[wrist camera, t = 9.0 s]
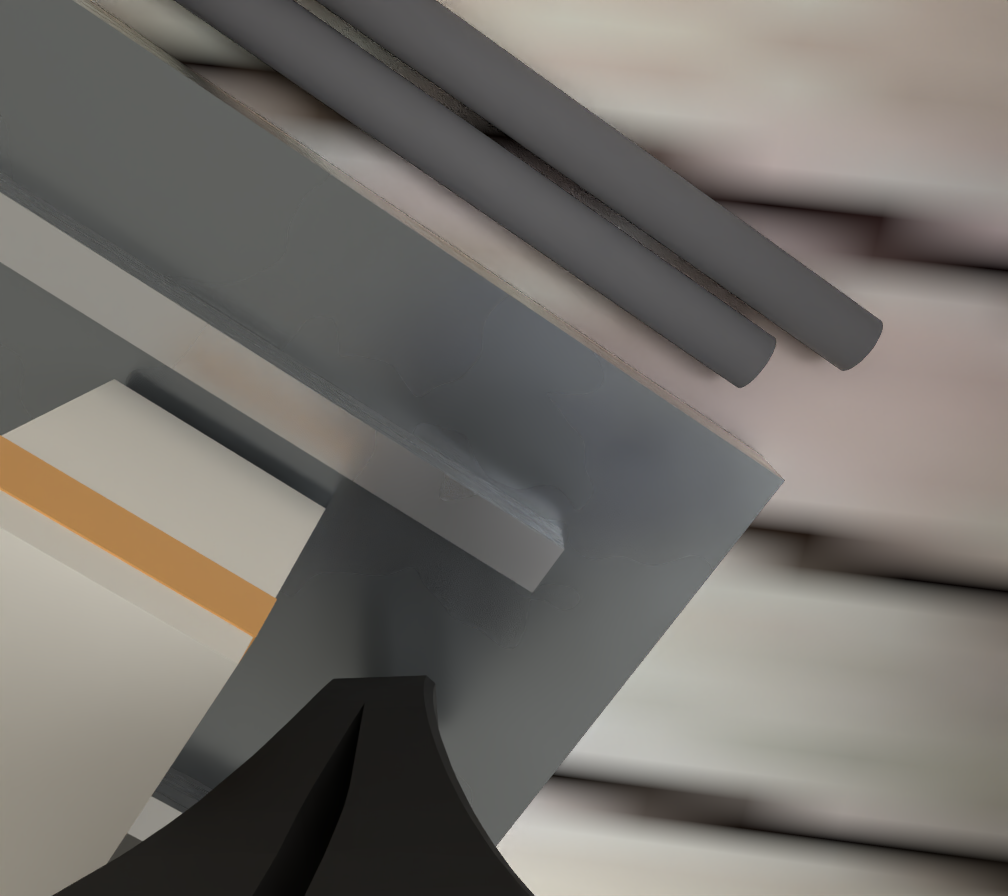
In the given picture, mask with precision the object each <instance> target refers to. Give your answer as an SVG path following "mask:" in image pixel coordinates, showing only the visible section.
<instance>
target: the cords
mask: <svg viewBox="0 0 1008 896" xmlns="http://www.w3.org/2000/svg"><path fill="white" fill-rule="evenodd" d="M174 1H176V2H177V3H179V4H180V5H181V6H183V7H184V8H186V9H187V10H189V11H190V12H192V13H193V14H195V15H196V16H197V17H199V18H200V19H202V20H203V21H205V22H206V23H208V24H209V25H211V26H212V27H214V28H215V29H216V30H218V31H219V32H221V33H222V34H224V35H225V36H227V37H228V38H230V39H231V40H232V41H234V42H235V43H237V44H238V45H240V46H241V47H243V48H244V49H246V50H247V51H248V52H250V53H251V54H253V55H254V56H256V57H257V58H259V59H260V60H262V61H263V62H264V63H266V64H267V65H269V66H270V67H272V68H273V69H275V70H276V71H278V72H279V73H281V74H282V75H283V76H285V77H286V78H288V79H289V80H291V81H292V82H294V83H295V84H297V85H298V86H299V87H301V88H302V89H304V90H305V91H307V92H308V93H310V94H311V95H313V96H314V97H315V98H317V99H318V100H320V101H321V102H323V103H324V104H326V105H327V106H329V107H330V108H331V109H333V110H334V111H336V112H337V113H339V114H340V115H342V116H343V117H345V118H346V119H347V120H349V121H350V122H352V123H353V124H355V125H356V126H358V127H359V128H361V129H362V130H364V131H365V132H366V133H368V134H369V135H371V136H372V137H374V138H375V139H377V140H378V141H380V142H381V143H382V144H384V145H385V146H387V147H388V148H390V149H391V150H393V151H394V152H396V153H397V154H398V155H400V156H401V157H403V158H404V159H406V160H407V161H409V162H410V163H412V164H413V165H414V166H416V167H417V168H419V169H420V170H422V171H423V172H425V173H426V174H428V175H429V176H430V177H432V178H433V179H435V180H436V181H438V182H439V183H441V184H442V185H444V186H445V187H447V188H448V189H449V190H451V191H452V192H454V193H455V194H457V195H458V196H460V197H461V198H463V199H464V200H465V201H467V202H468V203H470V204H471V205H473V206H474V207H476V208H477V209H479V210H480V211H481V212H483V213H484V214H486V215H487V216H489V217H490V218H492V219H493V220H495V221H496V222H497V223H499V224H500V225H502V226H503V227H505V228H506V229H508V230H509V231H511V232H512V233H514V234H515V235H516V236H518V237H519V238H521V239H522V240H524V241H525V242H527V243H528V244H530V245H531V246H532V247H534V248H535V249H537V250H538V251H540V252H541V253H543V254H544V255H546V256H547V257H548V258H550V259H551V260H553V261H554V262H556V263H557V264H559V265H560V266H562V267H563V268H564V269H566V270H567V271H569V272H570V273H572V274H573V275H575V276H576V277H578V278H579V279H580V280H582V281H583V282H585V283H586V284H588V285H589V286H591V287H592V288H594V289H595V290H597V291H598V292H599V293H601V294H602V295H604V296H605V297H607V298H608V299H610V300H611V301H613V302H614V303H615V304H617V305H618V306H620V307H621V308H623V309H624V310H626V311H627V312H629V313H630V314H631V315H633V316H634V317H636V318H637V319H639V320H640V321H642V322H643V323H645V324H646V325H647V326H649V327H650V328H652V329H653V330H655V331H656V332H658V333H659V334H661V335H662V336H663V337H665V338H666V339H668V340H669V341H671V342H672V343H674V344H675V345H677V346H678V347H680V348H681V349H682V350H684V351H685V352H687V353H688V354H690V355H691V356H693V357H694V358H696V359H697V360H698V361H700V362H701V363H703V364H704V365H706V366H707V367H709V368H710V369H712V370H713V371H714V372H716V373H717V374H719V375H720V376H722V377H723V378H725V379H726V380H728V381H729V382H730V383H732V384H733V385H735V386H736V387H738V388H741V387H744V386H746V385H747V384H749V383H750V382H751V381H752V380H753V379H754V378H755V377H756V376H757V375H758V374H759V373H760V372H761V371H762V369H763V368H764V367H765V365H766V364H767V362H768V361H769V359H770V357H771V355H772V353H773V351H774V349H775V345H776V339H775V338H774V337H773V336H771V335H770V334H768V333H767V332H766V331H764V330H763V329H761V328H760V327H758V326H757V325H756V324H754V323H753V322H751V321H750V320H749V319H747V318H746V317H744V316H743V315H741V314H740V313H739V312H737V311H736V310H734V309H733V308H731V307H730V306H729V305H727V304H726V303H724V302H723V301H721V300H720V299H719V298H717V297H716V296H714V295H713V294H711V293H710V292H709V291H707V290H706V289H704V288H703V287H701V286H700V285H699V284H697V283H696V282H694V281H693V280H691V279H690V278H689V277H687V276H686V275H684V274H683V273H681V272H680V271H679V270H677V269H676V268H674V267H673V266H672V265H670V264H669V263H667V262H666V261H664V260H663V259H662V258H660V257H659V256H657V255H656V254H654V253H653V252H652V251H650V250H649V249H647V248H646V247H644V246H643V245H642V244H640V243H639V242H637V241H636V240H634V239H633V238H632V237H630V236H629V235H627V234H626V233H624V232H623V231H622V230H620V229H619V228H617V227H616V226H614V225H613V224H612V223H610V222H609V221H607V220H606V219H605V218H603V217H602V216H600V215H599V214H597V213H596V212H595V211H593V210H592V209H590V208H589V207H587V206H586V205H585V204H583V203H582V202H580V201H579V200H577V199H576V198H575V197H573V196H572V195H570V194H569V193H567V192H566V191H565V190H563V189H562V188H560V187H559V186H557V185H556V184H555V183H553V182H552V181H550V180H549V179H547V178H546V177H545V176H543V175H542V174H540V173H539V172H538V171H536V170H535V169H533V168H532V167H530V166H529V165H528V164H526V163H525V162H523V161H522V160H520V159H519V158H518V157H516V156H515V155H513V154H512V153H510V152H509V151H508V150H506V149H505V148H503V147H502V146H500V145H499V144H498V143H496V142H495V141H493V140H492V139H490V138H489V137H488V136H486V135H485V134H483V133H482V132H480V131H479V130H478V129H476V128H475V127H473V126H472V125H471V124H469V123H468V122H466V121H465V120H463V119H462V118H461V117H459V116H458V115H456V114H455V113H453V112H452V111H451V110H449V109H448V108H446V107H445V106H443V105H442V104H441V103H439V102H438V101H436V100H435V99H433V98H432V97H431V96H429V95H428V94H426V93H425V92H423V91H422V90H421V89H419V88H418V87H416V86H415V85H413V84H412V83H411V82H409V81H408V80H406V79H405V78H403V77H402V76H401V75H399V74H398V73H396V72H395V71H394V70H392V69H391V68H389V67H388V66H386V65H385V64H384V63H382V62H381V61H379V60H378V59H376V58H375V57H374V56H372V55H371V54H369V53H368V52H366V51H365V50H364V49H362V48H361V47H359V46H358V45H356V44H355V43H354V42H352V41H351V40H349V39H348V38H346V37H345V36H344V35H342V34H341V33H339V32H338V31H336V30H335V29H334V28H332V27H331V26H329V25H328V24H327V23H325V22H324V21H322V20H321V19H319V18H318V17H317V16H315V15H314V14H312V13H311V12H309V11H308V10H307V9H305V8H304V7H302V6H301V5H299V4H298V3H297V2H295V1H294V0H174ZM316 1H318V2H319V3H320V4H322V5H323V6H325V7H326V8H328V9H329V10H330V11H332V12H333V13H335V14H336V15H337V16H339V17H340V18H342V19H343V20H345V21H346V22H347V23H349V24H350V25H352V26H353V27H354V28H356V29H357V30H359V31H360V32H362V33H363V34H364V35H366V36H367V37H369V38H370V39H372V40H373V41H374V42H376V43H377V44H379V45H380V46H381V47H383V48H384V49H386V50H387V51H389V52H390V53H391V54H393V55H394V56H396V57H397V58H399V59H400V60H401V61H403V62H404V63H406V64H407V65H408V66H410V67H411V68H413V69H414V70H416V71H417V72H418V73H420V74H421V75H423V76H424V77H425V78H427V79H428V80H430V81H431V82H433V83H434V84H435V85H437V86H438V87H440V88H441V89H443V90H444V91H445V92H447V93H448V94H450V95H451V96H452V97H454V98H455V99H457V100H458V101H460V102H461V103H462V104H464V105H465V106H467V107H468V108H470V109H471V110H472V111H474V112H475V113H477V114H478V115H479V116H481V117H482V118H484V119H485V120H487V121H488V122H489V123H491V124H492V125H494V126H495V127H496V128H498V129H499V130H501V131H502V132H504V133H505V134H506V135H508V136H509V137H511V138H512V139H514V140H515V141H516V142H518V143H519V144H521V145H522V146H523V147H525V148H526V149H528V150H529V151H531V152H532V153H533V154H535V155H536V156H538V157H539V158H540V159H542V160H543V161H545V162H546V163H548V164H549V165H550V166H552V167H553V168H555V169H556V170H558V171H559V172H560V173H562V174H563V175H565V176H566V177H567V178H569V179H570V180H572V181H573V182H575V183H576V184H577V185H579V186H580V187H582V188H583V189H585V190H586V191H587V192H589V193H590V194H592V195H593V196H594V197H596V198H597V199H599V200H600V201H602V202H603V203H604V204H606V205H607V206H609V207H610V208H611V209H613V210H614V211H616V212H617V213H619V214H620V215H621V216H623V217H624V218H626V219H627V220H629V221H630V222H631V223H633V224H634V225H636V226H637V227H638V228H640V229H641V230H643V231H644V232H646V233H647V234H648V235H650V236H651V237H653V238H654V239H656V240H657V241H658V242H660V243H661V244H663V245H664V246H665V247H667V248H668V249H670V250H671V251H673V252H674V253H675V254H677V255H678V256H680V257H681V258H682V259H684V260H685V261H687V262H688V263H690V264H691V265H692V266H694V267H695V268H697V269H698V270H700V271H701V272H702V273H704V274H705V275H707V276H708V277H709V278H711V279H712V280H714V281H715V282H717V283H718V284H719V285H721V286H722V287H724V288H725V289H727V290H728V291H729V292H731V293H732V294H734V295H735V296H736V297H738V298H739V299H741V300H742V301H744V302H745V303H746V304H748V305H749V306H751V307H752V308H753V309H755V310H756V311H758V312H759V313H761V314H762V315H763V316H765V317H766V318H768V319H769V320H771V321H772V322H773V323H775V324H776V325H778V326H779V327H780V328H782V329H783V330H785V331H786V332H788V333H789V334H790V335H792V336H793V337H795V338H796V339H797V340H799V341H800V342H802V343H803V344H805V345H806V346H807V347H809V348H810V349H812V350H813V351H815V352H816V353H817V354H819V355H820V356H822V357H823V358H824V359H826V360H827V361H829V362H830V363H832V364H833V365H834V366H836V367H837V368H839V369H840V370H843V371H845V370H849V369H851V368H853V367H854V366H856V365H857V364H858V363H860V362H861V361H862V360H863V359H864V358H865V357H866V356H867V355H868V354H869V352H870V351H871V350H872V349H873V347H874V346H875V344H876V343H877V341H878V339H879V337H880V335H881V332H882V329H883V323H882V321H881V320H879V319H878V318H877V317H875V316H874V315H872V314H871V313H870V312H868V311H867V310H865V309H864V308H863V307H861V306H860V305H858V304H857V303H856V302H854V301H853V300H852V299H850V298H849V297H847V296H846V295H845V294H843V293H842V292H840V291H839V290H838V289H836V288H835V287H833V286H832V285H831V284H829V283H828V282H827V281H825V280H824V279H822V278H821V277H820V276H818V275H817V274H815V273H814V272H813V271H811V270H810V269H808V268H807V267H806V266H804V265H803V264H802V263H800V262H799V261H797V260H796V259H795V258H793V257H792V256H790V255H789V254H788V253H786V252H785V251H783V250H782V249H781V248H779V247H778V246H777V245H775V244H774V243H772V242H771V241H770V240H768V239H767V238H765V237H764V236H763V235H761V234H760V233H758V232H757V231H756V230H754V229H753V228H751V227H750V226H749V225H747V224H746V223H745V222H743V221H742V220H740V219H739V218H738V217H736V216H735V215H733V214H732V213H731V212H729V211H728V210H726V209H725V208H724V207H722V206H721V205H720V204H718V203H717V202H715V201H714V200H713V199H711V198H710V197H708V196H707V195H706V194H704V193H703V192H701V191H700V190H699V189H697V188H696V187H695V186H693V185H692V184H690V183H689V182H688V181H686V180H685V179H683V178H682V177H681V176H679V175H678V174H676V173H675V172H674V171H672V170H671V169H670V168H668V167H667V166H665V165H664V164H663V163H661V162H660V161H658V160H657V159H656V158H654V157H653V156H651V155H650V154H649V153H647V152H646V151H645V150H643V149H642V148H640V147H639V146H638V145H636V144H635V143H633V142H632V141H631V140H629V139H628V138H626V137H625V136H624V135H622V134H621V133H620V132H618V131H617V130H615V129H614V128H613V127H611V126H610V125H608V124H607V123H606V122H604V121H603V120H601V119H600V118H599V117H597V116H596V115H595V114H593V113H592V112H590V111H589V110H588V109H586V108H585V107H583V106H582V105H581V104H579V103H578V102H576V101H575V100H574V99H572V98H571V97H570V96H568V95H567V94H565V93H564V92H563V91H561V90H560V89H558V88H557V87H556V86H554V85H553V84H551V83H550V82H549V81H547V80H546V79H545V78H543V77H542V76H540V75H539V74H538V73H536V72H535V71H533V70H532V69H531V68H529V67H528V66H526V65H525V64H524V63H522V62H521V61H520V60H518V59H517V58H515V57H514V56H513V55H511V54H510V53H508V52H507V51H506V50H504V49H503V48H501V47H500V46H499V45H497V44H496V43H495V42H493V41H492V40H490V39H489V38H488V37H486V36H485V35H483V34H482V33H481V32H479V31H478V30H476V29H475V28H474V27H472V26H471V25H470V24H468V23H467V22H465V21H464V20H463V19H461V18H460V17H458V16H457V15H456V14H454V13H453V12H451V11H450V10H449V9H447V8H446V7H444V6H443V5H442V4H440V3H439V2H438V1H436V0H316Z"/></svg>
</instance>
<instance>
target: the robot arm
mask: <svg viewBox="0 0 1008 896" xmlns="http://www.w3.org/2000/svg"><path fill="white" fill-rule="evenodd" d="M52 896H534V894H533V893H532V892H531V891H530V890H529V889H528V888H527V886H526V885H525V884H524V883H523V882H522V881H521V880H520V878H519V877H518V876H517V875H516V874H515V873H514V871H513V870H512V869H511V867H510V866H509V865H508V863H507V862H506V860H505V859H504V858H503V856H502V855H501V854H500V852H499V851H498V849H497V848H496V847H495V845H494V844H493V842H492V841H491V839H490V837H489V836H488V834H487V833H486V831H485V830H484V828H483V827H482V825H481V823H480V822H479V820H478V818H477V816H476V815H475V813H474V811H473V809H472V807H471V806H470V804H469V802H468V800H467V798H466V796H465V794H464V792H463V790H462V788H461V786H460V784H459V782H458V780H457V777H456V775H455V773H454V770H453V768H452V766H451V763H450V760H449V758H448V755H447V752H446V750H445V747H444V744H443V741H442V739H441V735H440V732H439V727H438V712H437V698H436V684H435V683H434V682H433V681H432V680H431V679H430V678H429V677H428V676H427V675H421V676H393V677H365V678H337V679H332V680H331V681H330V682H329V683H328V684H327V685H325V686H324V687H323V688H322V689H321V690H320V691H319V692H318V693H317V694H316V695H315V696H314V697H313V698H312V699H311V700H310V701H309V702H308V703H307V704H306V705H305V706H304V707H303V708H302V709H301V710H300V711H299V712H298V713H297V714H296V715H295V716H294V717H293V718H292V719H291V720H290V721H289V722H288V723H287V724H286V725H285V726H284V727H283V728H281V729H280V730H279V731H278V732H277V733H276V734H275V735H274V736H273V737H272V738H271V739H270V740H269V741H268V742H267V743H266V744H264V745H263V746H262V747H261V748H260V749H259V750H258V751H257V752H256V753H255V754H254V755H253V756H252V757H250V758H249V759H248V760H247V761H246V762H245V763H243V764H242V765H241V766H240V767H239V768H237V769H236V770H235V771H234V772H233V773H231V774H230V775H229V776H228V777H227V778H226V779H224V780H223V781H222V782H221V783H220V784H218V785H217V786H216V787H215V788H214V789H212V790H211V791H210V792H209V793H208V794H206V795H205V796H204V797H203V798H202V799H201V800H199V801H198V802H197V803H195V804H194V805H193V806H192V807H190V808H189V809H188V810H186V811H185V812H184V813H182V814H181V815H180V816H178V817H177V818H175V819H174V820H173V821H171V822H170V823H169V824H167V825H166V826H164V827H163V828H161V829H160V830H158V831H157V832H155V833H154V834H153V835H151V836H150V837H148V838H147V839H145V840H144V841H142V842H141V843H139V844H138V845H136V846H135V847H133V848H132V849H130V850H129V851H127V852H126V853H124V854H122V855H121V856H119V857H118V858H116V859H114V860H113V861H111V862H109V863H107V864H106V865H104V866H102V867H100V868H99V869H97V870H95V871H94V872H92V873H90V874H88V875H87V876H85V877H83V878H81V879H80V880H78V881H76V882H75V883H73V884H71V885H69V886H68V887H66V888H64V889H62V890H61V891H59V892H57V893H56V894H54V895H52Z"/></svg>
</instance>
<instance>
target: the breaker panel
mask: <svg viewBox="0 0 1008 896" xmlns="http://www.w3.org/2000/svg"><path fill="white" fill-rule="evenodd" d="M113 379H115V380H117V381H118V382H120V383H122V384H123V385H125V386H127V387H128V388H130V389H132V390H133V391H135V392H136V393H138V394H140V395H141V396H143V397H145V398H146V399H148V400H149V401H151V402H153V403H154V404H156V405H158V406H159V407H161V408H162V409H164V410H166V411H167V412H169V413H171V414H172V415H174V416H176V417H177V418H179V419H180V420H182V421H184V422H185V423H187V424H189V425H190V426H192V427H193V428H195V429H197V430H198V431H200V432H202V433H203V434H205V435H206V436H208V437H210V438H211V439H213V440H215V441H216V442H218V443H220V444H221V445H223V446H224V447H226V448H228V449H229V450H231V451H233V452H234V453H236V454H237V455H239V456H241V457H242V458H244V459H246V460H247V461H249V462H250V463H252V464H254V465H255V466H257V467H259V468H260V469H262V470H264V471H265V472H267V473H268V474H270V475H272V476H273V477H275V478H277V479H278V480H280V481H281V482H283V483H285V484H286V485H288V486H290V487H291V488H293V489H294V490H296V491H298V492H299V493H301V494H303V495H304V496H306V497H308V498H309V499H311V500H312V501H314V502H316V503H317V504H319V505H321V506H322V507H324V508H325V511H324V512H323V514H322V516H321V518H320V520H319V521H318V523H317V525H316V527H315V528H314V530H313V532H312V534H311V536H310V537H309V539H308V541H307V543H306V544H305V546H304V548H303V550H302V552H301V553H300V555H299V557H298V559H297V560H296V562H295V564H294V566H293V568H292V569H291V571H290V573H289V575H288V576H287V578H286V580H285V582H284V584H283V585H282V587H281V589H280V591H279V592H278V594H277V596H276V599H277V600H276V602H275V604H274V606H273V608H272V609H271V611H270V613H269V615H268V617H267V618H266V620H265V622H264V624H263V626H262V627H261V629H260V631H259V633H258V634H257V636H256V638H255V639H254V641H253V642H252V644H251V645H250V647H249V648H248V650H247V652H246V653H245V655H244V656H243V658H242V659H241V661H240V662H239V664H238V665H237V667H236V668H235V670H234V671H233V673H232V674H231V676H230V677H229V679H228V680H227V682H226V683H225V685H224V686H223V688H222V689H221V691H220V693H219V694H218V696H217V697H216V699H215V700H214V702H213V703H212V705H211V706H210V708H209V709H208V711H207V712H206V714H205V715H204V717H203V718H202V720H201V721H200V723H199V724H198V726H197V727H196V729H195V730H194V732H193V734H192V735H191V737H190V738H189V740H188V741H187V743H186V744H185V746H184V747H183V749H182V750H181V752H180V753H179V755H178V756H177V758H176V759H175V761H174V762H173V764H172V765H171V767H170V768H169V770H168V772H167V773H166V775H165V776H164V778H163V779H162V781H161V782H160V784H159V785H158V787H157V788H156V790H155V791H154V793H153V794H152V796H151V797H150V799H149V800H148V802H147V803H146V805H145V806H144V808H143V809H142V811H141V813H140V814H139V816H138V817H137V819H136V820H135V822H134V823H133V825H132V826H131V828H130V829H129V831H128V832H127V834H126V835H125V837H124V838H123V840H122V841H121V843H120V844H119V846H118V847H117V849H116V850H115V852H114V854H113V855H112V857H111V858H110V860H109V861H108V863H109V862H111V861H113V860H114V859H116V858H118V857H119V856H121V855H122V854H124V853H126V852H127V851H129V850H130V849H132V848H133V847H135V846H136V845H138V844H139V843H141V842H142V841H144V840H145V839H147V838H148V837H150V836H151V835H153V834H154V833H155V832H157V831H158V830H160V829H161V828H163V827H164V826H166V825H167V824H169V823H170V822H171V821H173V820H174V819H175V818H177V817H178V816H180V815H181V814H182V813H184V812H185V811H186V810H188V809H189V808H190V807H192V806H193V805H194V804H195V803H197V802H198V801H199V800H201V799H202V798H203V797H204V796H205V795H206V794H208V793H209V792H210V791H211V790H212V789H214V788H215V787H216V786H217V785H218V784H220V783H221V782H222V781H223V780H224V779H226V778H227V777H228V776H229V775H230V774H231V773H233V772H234V771H235V770H236V769H237V768H239V767H240V766H241V765H242V764H243V763H245V762H246V761H247V760H248V759H249V758H250V757H252V756H253V755H254V754H255V753H256V752H257V751H258V750H259V749H260V748H261V747H262V746H263V745H264V744H266V743H267V742H268V741H269V740H270V739H271V738H272V737H273V736H274V735H275V734H276V733H277V732H278V731H279V730H280V729H281V728H283V727H284V726H285V725H286V724H287V723H288V722H289V721H290V720H291V719H292V718H293V717H294V716H295V715H296V714H297V713H298V712H299V711H300V710H301V709H302V708H303V707H304V706H305V705H306V704H307V703H308V702H309V701H310V700H311V699H312V698H313V697H314V696H315V695H316V694H317V693H318V692H319V691H320V690H321V689H322V688H323V687H324V686H325V685H327V684H328V683H329V682H330V681H331V680H332V679H337V678H365V677H393V676H421V675H427V676H428V677H429V678H430V679H431V680H432V681H433V682H434V683H435V684H436V698H437V712H438V727H439V732H440V735H441V739H442V741H443V744H444V747H445V750H446V752H447V755H448V758H449V760H450V763H451V766H452V768H453V770H454V773H455V775H456V777H457V780H458V782H459V784H460V786H461V788H462V790H463V792H464V794H465V796H466V798H467V800H468V802H469V804H470V806H471V807H472V809H473V811H474V813H475V815H476V816H477V818H478V820H479V822H480V823H481V825H482V827H483V828H484V830H485V831H486V833H487V834H488V836H489V837H490V839H491V841H492V842H493V844H494V845H495V847H496V846H497V844H498V843H499V842H500V841H501V839H502V838H503V837H504V836H505V834H506V833H507V832H508V831H509V829H510V828H511V827H512V825H513V824H514V823H515V822H516V820H517V819H518V818H519V817H520V815H521V814H522V813H523V812H524V810H525V809H526V808H527V806H528V805H529V804H530V803H531V801H532V800H533V799H534V798H535V796H536V795H537V794H538V793H539V791H540V790H541V789H542V787H543V786H544V785H545V784H546V782H547V781H548V780H549V779H550V777H551V776H552V775H553V774H554V772H555V771H556V770H557V768H558V767H559V766H560V765H561V763H562V762H563V761H564V760H565V758H566V757H567V756H568V755H569V753H570V752H571V751H572V749H573V748H574V747H575V746H576V744H577V743H578V742H579V741H580V739H581V738H582V737H583V736H584V734H585V733H586V732H587V730H588V729H589V728H590V727H591V725H592V724H593V723H594V722H595V720H596V719H597V718H598V716H599V715H600V714H601V713H602V711H603V710H604V709H605V708H606V706H607V705H608V704H609V703H610V701H611V700H612V699H613V697H614V696H615V695H616V694H617V692H618V691H619V690H620V689H621V687H622V686H623V685H624V684H625V682H626V681H627V680H628V678H629V677H630V676H631V675H632V673H633V672H634V671H635V670H636V668H637V667H638V666H639V665H640V663H641V662H642V661H643V659H644V658H645V657H646V656H647V654H648V653H649V652H650V651H651V649H652V648H653V647H654V646H655V644H656V643H657V642H658V640H659V639H660V638H661V637H662V635H663V634H664V633H665V632H666V630H667V629H668V628H669V627H670V625H671V624H672V623H673V621H674V620H675V619H676V618H677V616H678V615H679V614H680V613H681V611H682V610H683V609H684V608H685V606H686V605H687V604H688V602H689V601H690V600H691V599H692V597H693V596H694V595H695V594H696V592H697V591H698V590H699V589H700V587H701V586H702V585H703V583H704V582H705V581H706V580H707V578H708V577H709V576H710V575H711V573H712V572H713V571H714V570H715V568H716V567H717V566H718V564H719V563H720V562H721V561H722V559H723V558H724V557H725V556H726V554H727V553H728V552H729V551H730V549H731V548H732V547H733V545H734V544H735V543H736V542H737V540H738V539H739V538H740V537H741V535H742V534H743V533H744V532H745V530H746V529H747V528H748V526H749V525H750V524H751V523H752V521H753V520H754V519H755V518H756V516H757V515H758V514H759V513H760V511H761V510H762V509H763V507H764V506H765V505H766V504H767V502H768V501H769V500H770V499H771V497H772V496H773V495H774V494H775V492H776V491H777V490H778V488H779V487H780V486H781V485H782V483H783V482H784V481H785V480H784V479H783V478H782V477H781V476H780V475H779V474H778V473H777V472H776V471H775V469H774V468H773V467H772V466H771V465H770V464H769V463H768V462H767V461H766V460H765V459H764V457H763V456H762V455H761V454H759V453H758V452H756V451H755V450H753V449H752V448H750V447H749V446H748V445H746V444H745V443H743V442H742V441H740V440H739V439H737V438H736V437H734V436H733V435H731V434H730V433H728V432H727V431H725V430H724V429H722V428H721V427H719V426H718V425H716V424H715V423H714V422H712V421H711V420H709V419H708V418H706V417H705V416H703V415H702V414H700V413H699V412H697V411H696V410H694V409H693V408H691V407H690V406H688V405H687V404H685V403H684V402H682V401H681V400H680V399H678V398H677V397H675V396H674V395H672V394H671V393H669V392H668V391H666V390H665V389H663V388H662V387H660V386H659V385H657V384H656V383H654V382H653V381H651V380H650V379H648V378H647V377H646V376H644V375H643V374H641V373H640V372H638V371H637V370H635V369H634V368H632V367H631V366H629V365H628V364H626V363H625V362H623V361H622V360H620V359H619V358H617V357H616V356H614V355H613V354H612V353H610V352H609V351H607V350H606V349H604V348H603V347H601V346H600V345H598V344H597V343H595V342H594V341H592V340H591V339H589V338H588V337H586V336H585V335H583V334H582V333H581V332H579V331H578V330H576V329H575V328H573V327H572V326H570V325H569V324H567V323H566V322H564V321H563V320H561V319H560V318H558V317H557V316H555V315H554V314H552V313H551V312H549V311H548V310H547V309H545V308H544V307H542V306H541V305H539V304H538V303H536V302H535V301H533V300H532V299H530V298H529V297H527V296H526V295H524V294H523V293H521V292H520V291H518V290H517V289H515V288H514V287H513V286H511V285H510V284H508V283H507V282H505V281H504V280H502V279H501V278H499V277H498V276H496V275H495V274H493V273H492V272H490V271H489V270H487V269H486V268H484V267H483V266H481V265H480V264H479V263H477V262H476V261H474V260H473V259H471V258H470V257H468V256H467V255H465V254H464V253H462V252H461V251H459V250H458V249H456V248H455V247H453V246H452V245H450V244H449V243H447V242H446V241H445V240H443V239H442V238H440V237H439V236H437V235H436V234H434V233H433V232H431V231H430V230H428V229H427V228H425V227H424V226H422V225H421V224H419V223H418V222H416V221H415V220H414V219H412V218H411V217H409V216H408V215H406V214H405V213H403V212H402V211H400V210H399V209H397V208H396V207H394V206H393V205H391V204H390V203H388V202H387V201H385V200H384V199H382V198H381V197H380V196H378V195H377V194H375V193H374V192H372V191H371V190H369V189H368V188H366V187H365V186H363V185H362V184H360V183H359V182H357V181H356V180H354V179H353V178H351V177H350V176H348V175H347V174H346V173H344V172H343V171H341V170H340V169H338V168H337V167H335V166H334V165H332V164H331V163H329V162H328V161H326V160H325V159H323V158H322V157H320V156H319V155H317V154H316V153H314V152H313V151H312V150H310V149H309V148H307V147H306V146H304V145H303V144H301V143H300V142H298V141H297V140H295V139H294V138H292V137H291V136H289V135H288V134H286V133H285V132H283V131H282V130H281V129H279V128H278V127H276V126H275V125H273V124H272V123H270V122H269V121H267V120H266V119H264V118H263V117H261V116H260V115H258V114H257V113H255V112H254V111H252V110H251V109H249V108H248V107H247V106H245V105H244V104H242V103H241V102H239V101H238V100H236V99H235V98H233V97H232V96H230V95H229V94H227V93H226V92H224V91H223V90H221V89H220V88H218V87H217V86H215V85H214V84H213V83H211V82H210V81H208V80H207V79H205V78H204V77H202V76H201V75H199V74H198V73H196V72H195V71H193V70H192V69H190V68H189V67H187V66H186V65H184V64H183V63H181V62H180V61H179V60H177V59H176V58H174V57H173V56H171V55H170V54H168V53H167V52H165V51H164V50H162V49H161V48H159V47H158V46H156V45H155V44H153V43H152V42H150V41H149V40H147V39H146V38H145V37H143V36H142V35H140V34H139V33H137V32H136V31H134V30H133V29H131V28H130V27H128V26H127V25H125V24H124V23H122V22H121V21H119V20H118V19H116V18H115V17H114V16H112V15H111V14H109V13H108V12H106V11H105V10H103V9H102V8H100V7H99V6H97V5H96V4H94V3H93V2H91V1H90V0H0V435H1V436H2V435H4V434H6V433H8V432H10V431H12V430H14V429H16V428H18V427H20V426H22V425H24V424H26V423H27V422H29V421H31V420H33V419H35V418H37V417H39V416H41V415H43V414H45V413H47V412H49V411H51V410H53V409H55V408H57V407H59V406H61V405H63V404H65V403H67V402H69V401H71V400H73V399H75V398H77V397H79V396H81V395H83V394H85V393H87V392H89V391H91V390H93V389H95V388H97V387H99V386H101V385H103V384H105V383H107V382H109V381H111V380H113Z"/></svg>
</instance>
